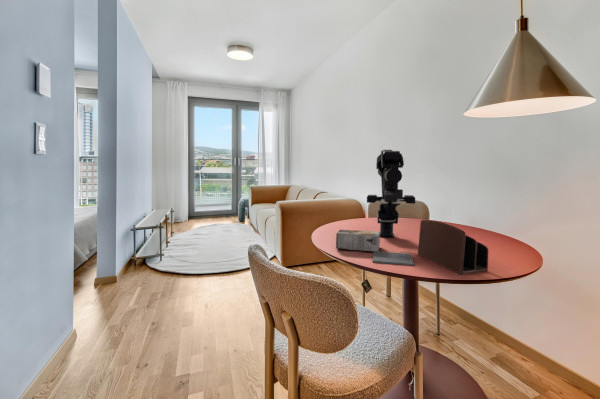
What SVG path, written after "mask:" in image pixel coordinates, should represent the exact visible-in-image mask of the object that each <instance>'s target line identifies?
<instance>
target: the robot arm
mask: <svg viewBox="0 0 600 399" xmlns="http://www.w3.org/2000/svg"><path fill="white" fill-rule="evenodd" d="M404 161H405V160H404V157H403V155H402V153H401V151H400V150H392V149H382V150H381V151H380V154H379V155H378V156H377V157H376V162H375V163H376V164H375V165H376V167H375V168H376V169H377V174H378V175H379V177H381V178H380V179H381V196H377V194H368V195H366V203H368V204H369V203H370V204H375V203H376V202H380V204H379V208H378V210H377V216H376V222H377V224H379V227H380V228H379V232H380V238H395V233H394V224H395V225H396V224H398V223H399V217H400V216H399V215H400V213H399V212H398V210H397V206H400V205H401V204H400V203H401V202H405V203H406V204H411V205H412V204H413V205H414V204H416V197H415V196H414V195H412V194H411V195H409V194H404V193H403V192H404V190H403V189H399V183H400V182H401V180H402V179H403V174H402V171H401V170H400V169H401V168H403V167H404V164H405V162H404ZM403 194H404V195H403Z"/></svg>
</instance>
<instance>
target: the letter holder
mask: <svg viewBox="0 0 600 399" xmlns="http://www.w3.org/2000/svg"><path fill="white" fill-rule="evenodd" d="M418 235H419V237H418V250H417V251H418V252H417V255H418V256H420V257H422V258H424V259H427V260H428V261H431V262H433V263H434V264H436V265H437V264H438V265H439V266H440V267H441V266H442V267H443V268H446V269H447V270H449V271H452V272H454V273H456V274H458V275H462V276H464V275H472V274H478V273H487V272H488V270H489V269H488V268H489V248H488V246H486V245H484V244H483V243H481V242H479V241H477V240H476V239H475V238H473V237H471V236H469V235H467V233H466V232H465V231H464V230H462V229H460V228H459V227H457V226H453V225H452V224H447V223H444V222H441V221H436V220H430V219H428V220H427V219H422V220H420V224H419V234H418Z"/></svg>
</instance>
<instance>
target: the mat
mask: <svg viewBox="0 0 600 399" xmlns="http://www.w3.org/2000/svg"><path fill="white" fill-rule="evenodd" d="M372 252H373V254H372V264H373V263H375V264H388V265H399V266H412V267H413V266H414V264H415V263H414V260H413V257H412V254H411V253H408V252H393V251H392V252H391V251H378V252H376V251H372Z"/></svg>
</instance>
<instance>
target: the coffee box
mask: <svg viewBox="0 0 600 399" xmlns="http://www.w3.org/2000/svg"><path fill="white" fill-rule="evenodd" d="M380 238H381V237H380V231H376V230H375V231H372V230H371V231H370V230H352V229H350V230H349V229H339V230H338V231H337V232H336V237H335V247H336V248H335V249H338V250H349V251H350V250H352V251H364V252H374V251H376V252H378V251H379V250H380V243H381V241H380ZM379 252H380V251H379Z"/></svg>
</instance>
